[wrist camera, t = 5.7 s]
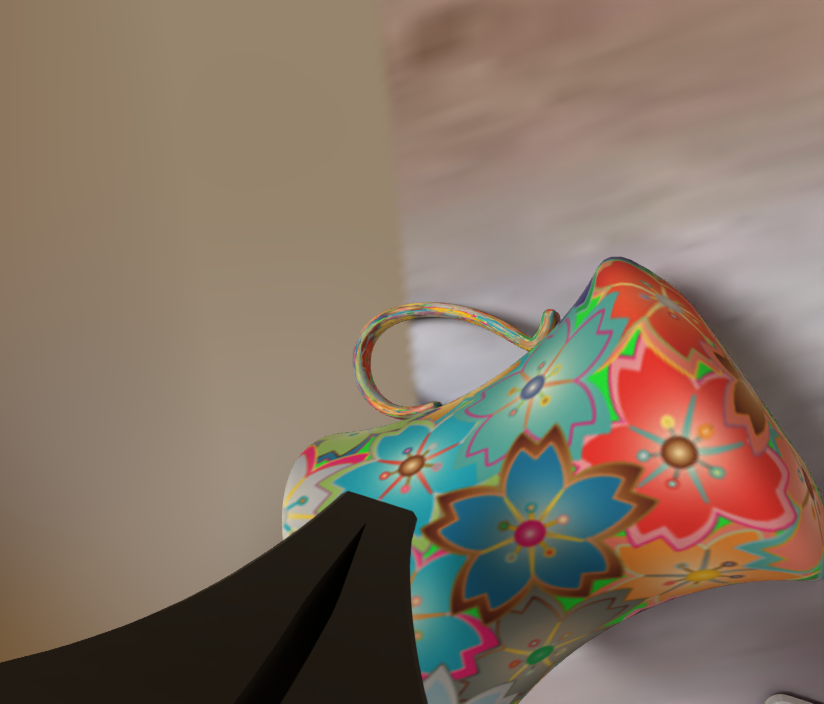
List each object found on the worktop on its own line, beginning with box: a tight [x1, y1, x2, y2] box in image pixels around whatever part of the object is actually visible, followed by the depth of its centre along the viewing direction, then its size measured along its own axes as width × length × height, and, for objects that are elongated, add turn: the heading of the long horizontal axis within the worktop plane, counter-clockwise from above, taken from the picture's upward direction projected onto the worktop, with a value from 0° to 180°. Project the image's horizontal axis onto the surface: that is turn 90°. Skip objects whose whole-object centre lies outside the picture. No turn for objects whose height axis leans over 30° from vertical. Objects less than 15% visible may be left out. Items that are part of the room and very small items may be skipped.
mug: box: [282, 257, 824, 704], centre depth 19 cm, size 12×9×11 cm
